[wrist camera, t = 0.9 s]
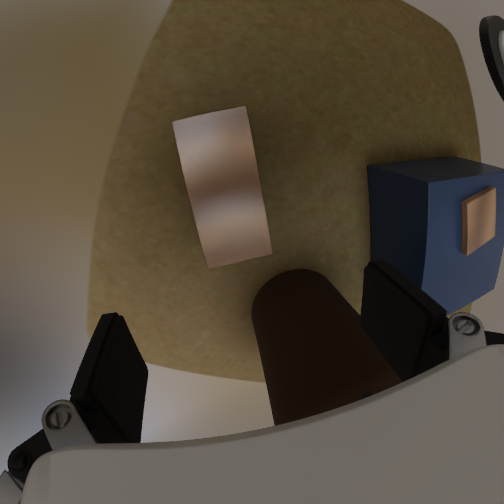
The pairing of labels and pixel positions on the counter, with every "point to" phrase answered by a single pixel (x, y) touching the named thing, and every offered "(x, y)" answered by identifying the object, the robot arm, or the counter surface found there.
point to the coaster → (478, 219)
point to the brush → (223, 185)
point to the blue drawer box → (434, 225)
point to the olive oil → (314, 348)
